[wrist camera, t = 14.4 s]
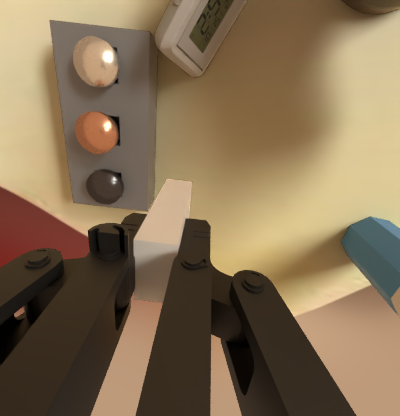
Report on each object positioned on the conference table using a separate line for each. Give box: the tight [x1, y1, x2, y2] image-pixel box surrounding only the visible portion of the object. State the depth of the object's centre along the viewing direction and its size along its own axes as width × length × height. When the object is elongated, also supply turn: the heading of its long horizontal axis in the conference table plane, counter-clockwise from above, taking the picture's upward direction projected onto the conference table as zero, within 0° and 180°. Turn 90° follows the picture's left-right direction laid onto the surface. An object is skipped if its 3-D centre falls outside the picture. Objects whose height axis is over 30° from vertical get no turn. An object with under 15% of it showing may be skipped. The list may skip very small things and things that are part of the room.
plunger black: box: [86, 169, 124, 204], centre depth 38 cm, size 5×5×5 cm
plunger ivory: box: [73, 36, 120, 87], centre depth 31 cm, size 5×5×5 cm
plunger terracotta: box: [75, 111, 120, 154], centre depth 33 cm, size 5×5×5 cm
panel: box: [50, 20, 158, 211], centre depth 36 cm, size 24×12×5 cm, turn 174°
